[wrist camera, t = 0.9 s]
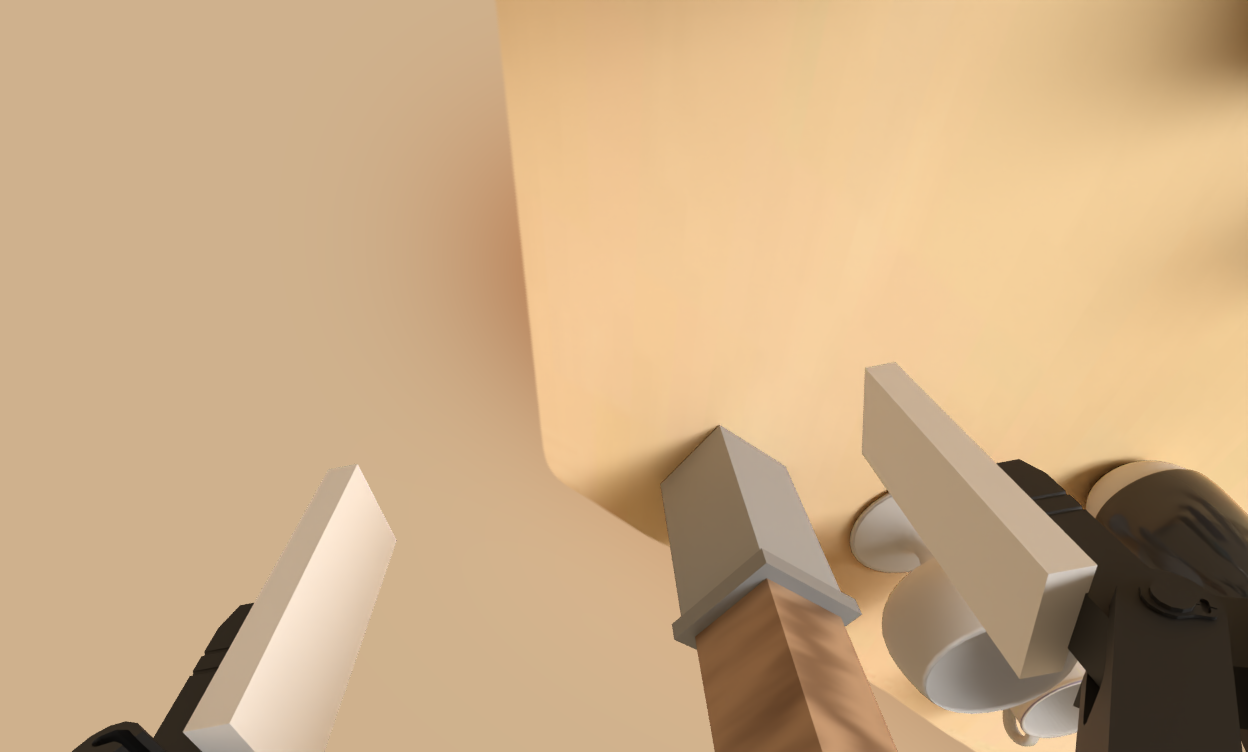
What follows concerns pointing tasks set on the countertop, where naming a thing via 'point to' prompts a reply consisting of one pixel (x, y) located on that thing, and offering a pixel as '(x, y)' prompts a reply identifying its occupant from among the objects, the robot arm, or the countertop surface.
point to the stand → (740, 534)
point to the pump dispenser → (1176, 523)
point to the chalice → (938, 623)
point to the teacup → (1047, 712)
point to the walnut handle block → (786, 679)
